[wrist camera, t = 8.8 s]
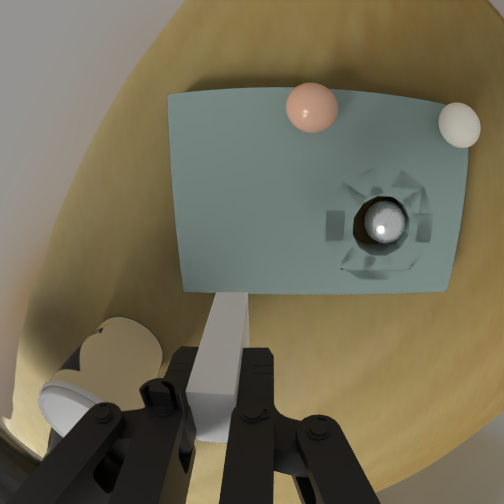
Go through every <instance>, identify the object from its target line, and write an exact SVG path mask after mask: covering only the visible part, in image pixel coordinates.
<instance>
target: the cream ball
mask: <svg viewBox="0 0 504 504" xmlns="http://www.w3.org/2000/svg"><path fill="white" fill-rule="evenodd" d="M438 125H439V130H440V132H441V134H442V136H443V138H444V139H445V140H446V141H447V142H448V143H449V144H451V145H453V146H455V147H458V148H466V147H470V146H472V145H473V144H474V143H475V142H476V141H477V140H478V138H479V135H480V131H481V126H480V121H479V118H478V116H477V114H476V113H475V112H474V111H473V109H471V108H470V107H469V106H467V105H465V104H462V103H451V104H448V105H447V106H445V107H444V108H443V109H442V111H441V113H440V115H439V119H438Z"/></svg>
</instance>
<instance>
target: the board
mask: <svg viewBox="0 0 504 504" xmlns="http://www.w3.org/2000/svg"><path fill="white" fill-rule="evenodd" d="M294 88H296V87H260V88H233V89H217V90H204V91H193V92H184V93H175V94H167V97H168V126H169V146H170V162H171V177H172V190H173V202H174V213H175V223H176V233H177V243H178V252H179V260H180V269H181V277H182V284H183V292H199V293H216V292H248V294H387V293H420V292H444V291H447V288H448V284H449V280H450V276H451V271H452V267H453V262H454V258H455V253H456V248H457V243H458V237H459V231H460V225H461V219H462V212H463V205H464V197H465V188H466V179H467V167H468V152H469V147H466V148H458V147H455V146H453V145H451V144H449V143H448V142H447V141H446V140H445V139H444V138H443V136H442V134H441V132H440V130H439V125H438V119H439V115H440V113H441V111H442V109H443V108H444V107H445V106H447V104H442V103H437V102H432V101H427V100H421V99H415V98H409V97H403V96H396V95H389V94H381V93H372V92H363V91H353V90H340V89H329V90H330V91H331V92H332V93H333V94H334V96H335V98H336V100H337V103H338V115H337V118H336V120H335V122H334V123H333V124H332V126H331V127H329V128H328V129H326V130H325V131H322V132H319V133H307V132H304V131H301V130H299V129H298V128H296V127H295V126H294V125H293V124H292V123H291V122H290V120H289V118H288V116H287V113H286V100H287V97H288V95H289V94H290V92H291V91H292V90H293V89H294ZM376 196H388V197H393V198H394V200H395V202H396V205H398V206H399V207H400V209H401V210H402V211H403V213H404V216H405V228H404V231H403V233H402V235H401V236H400V237H399V238H398V239H397V240H395V241H393V242H391V243H378V244H363V243H362V242H360V241H358V240H357V239H355V238H354V236H353V222H354V217H355V215H356V214H357V212H358V211H359V209H360V208H361V206H362V204H363V203H365V202H367V201H369V200H371V199H373V198H375V197H376Z"/></svg>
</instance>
